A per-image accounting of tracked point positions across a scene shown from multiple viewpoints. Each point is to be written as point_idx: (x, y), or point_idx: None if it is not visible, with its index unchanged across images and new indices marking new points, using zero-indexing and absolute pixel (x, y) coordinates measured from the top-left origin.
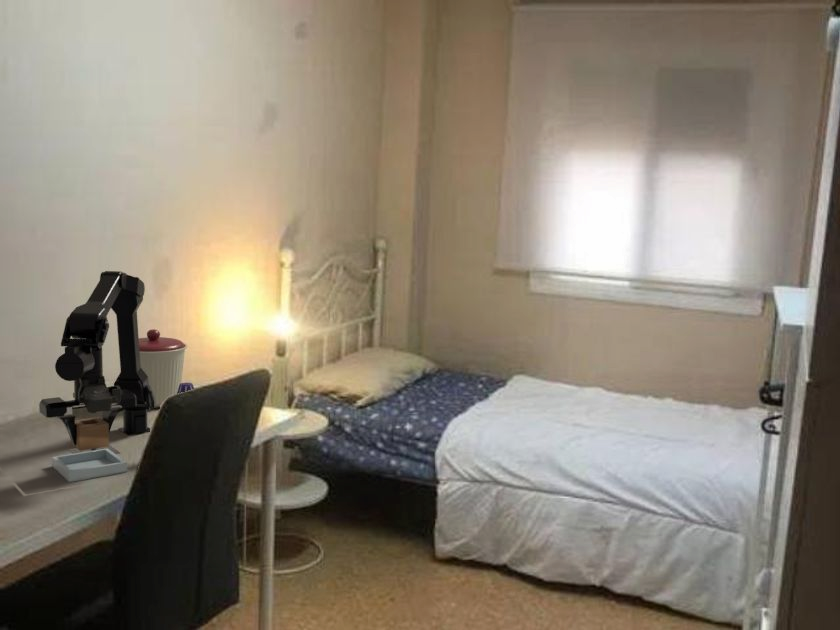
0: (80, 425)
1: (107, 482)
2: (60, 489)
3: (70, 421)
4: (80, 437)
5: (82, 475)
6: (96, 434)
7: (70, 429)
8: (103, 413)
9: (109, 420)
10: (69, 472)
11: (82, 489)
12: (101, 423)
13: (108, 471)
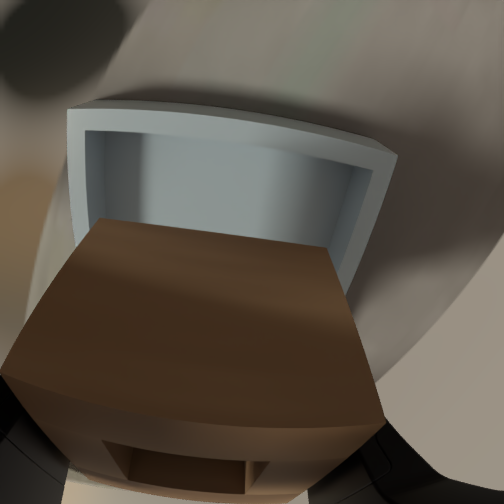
0: (321, 457)
1: (228, 32)
2: (430, 106)
3: (432, 490)
4: (349, 325)
5: (322, 129)
6: (172, 312)
7: (388, 429)
8: (51, 491)
9: (2, 412)
10: (394, 154)
11: (371, 31)
12: (75, 415)
13: (177, 106)
